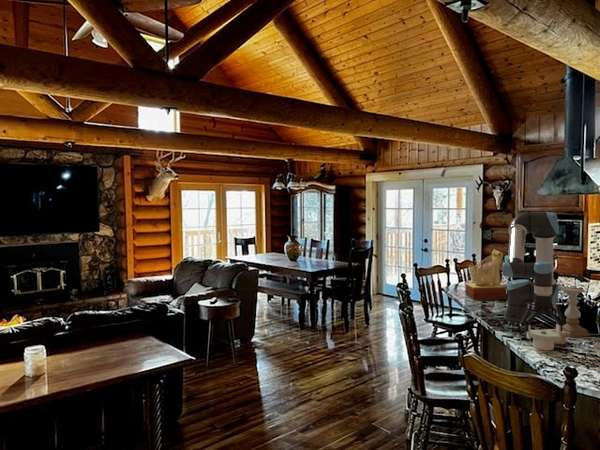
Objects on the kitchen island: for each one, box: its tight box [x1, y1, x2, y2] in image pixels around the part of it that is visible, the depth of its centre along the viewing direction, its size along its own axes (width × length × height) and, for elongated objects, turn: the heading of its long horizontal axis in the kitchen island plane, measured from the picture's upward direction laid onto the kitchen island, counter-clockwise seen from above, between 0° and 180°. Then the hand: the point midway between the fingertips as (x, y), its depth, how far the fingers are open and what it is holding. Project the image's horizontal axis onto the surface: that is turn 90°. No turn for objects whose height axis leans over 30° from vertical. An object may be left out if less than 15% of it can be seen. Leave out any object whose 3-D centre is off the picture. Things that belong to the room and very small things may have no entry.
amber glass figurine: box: [465, 248, 507, 301], centre depth 325 cm, size 25×18×35 cm
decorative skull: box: [480, 262, 504, 284], centre depth 363 cm, size 18×26×20 cm, turn 171°
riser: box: [546, 328, 567, 345], centre depth 221 cm, size 6×6×6 cm
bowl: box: [532, 338, 555, 351], centre depth 213 cm, size 8×8×5 cm
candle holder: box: [560, 286, 591, 338], centre depth 233 cm, size 11×11×24 cm
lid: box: [531, 329, 561, 341], centre depth 213 cm, size 11×11×3 cm
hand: (543, 338), depth 214 cm, fingers open, 13 cm apart
